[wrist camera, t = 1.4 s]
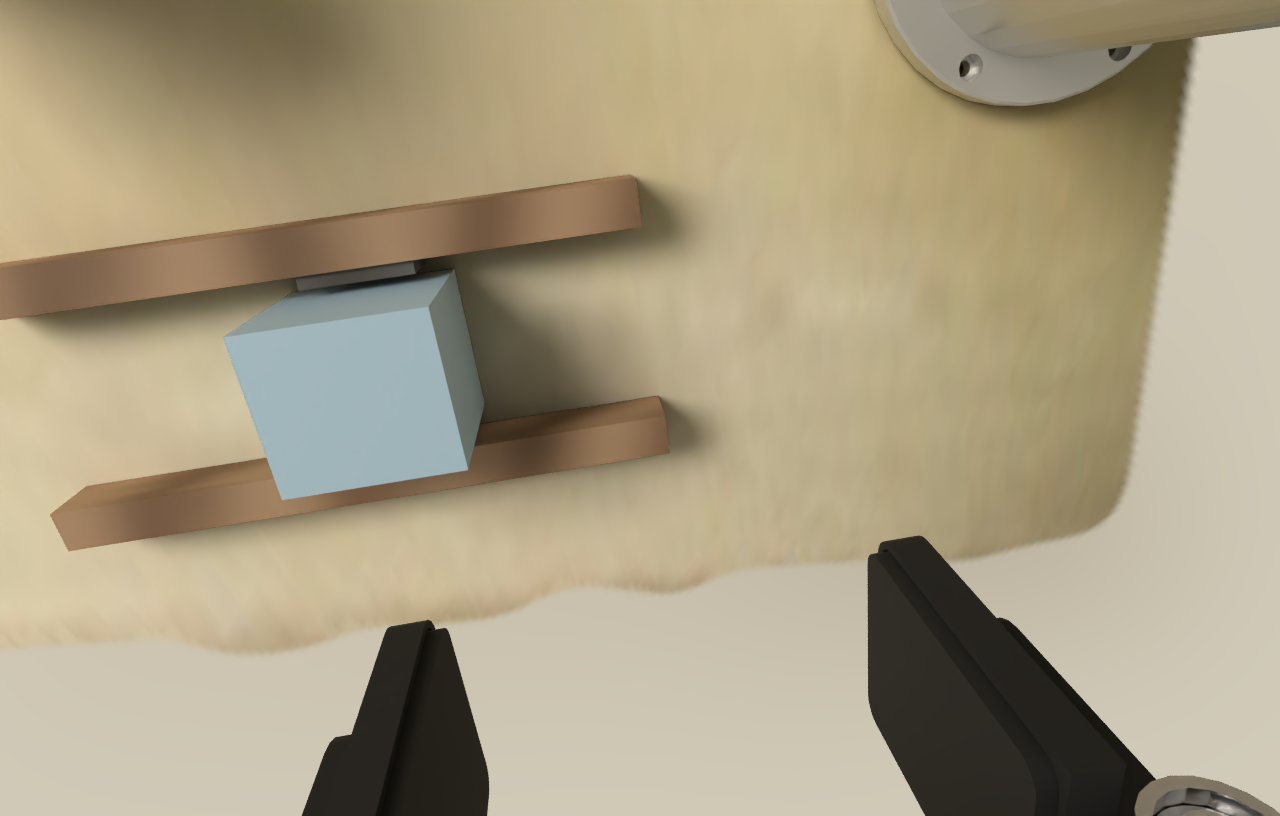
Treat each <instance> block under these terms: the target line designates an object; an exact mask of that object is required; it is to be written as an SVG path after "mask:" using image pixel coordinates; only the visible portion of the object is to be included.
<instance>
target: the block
mask: <svg viewBox="0 0 1280 816" xmlns="http://www.w3.org/2000/svg"><path fill="white" fill-rule="evenodd" d="M223 339H224V342H225V345H226V347H227V350H228V353H229V356H230V358H231V361H232V364H233V367H234V369H235V372H236V375H237V378H238V380H239V383H240V386H241V389H242V391H243V394H244V397H245V400H246V403H247V405H248V408H249V411H250V414H251V416H252V419H253V422H254V425H255V427H256V430H257V433H258V436H259V438H260V441H261V444H262V447H263V449H264V452H265V455H266V458H267V460H268V463H269V466H270V469H271V471H272V474H273V477H274V480H275V482H276V485H277V488H278V491H279V493H280V496H281V499H282V500H287V499H293V498H299V497H305V496H312V495H318V494H324V493H330V492H336V491H343V490H349V489H355V488H361V487H367V486H373V485H380V484H386V483H392V482H398V481H404V480H410V479H417V478H423V477H429V476H435V475H441V474H447V473H454V472H460V471H466V470H468V469H469V465H470V461H471V457H472V453H473V449H474V445H475V441H476V437H477V432H478V428H479V424H480V420H481V416H482V412H483V408H484V404H485V403H484V398H483V394H482V389H481V385H480V381H479V376H478V372H477V367H476V363H475V358H474V354H473V350H472V345H471V341H470V336H469V332H468V327H467V323H466V319H465V314H464V310H463V305H462V301H461V296H460V292H459V288H458V283H457V279H456V274H455V270H454V269H449V270H442V271H435V272H428V273H421V274H414V275H408V276H401V277H394V278H387V279H380V280H373V281H367V282H360V283H353V284H346V285H339V286H332V287H326V288H319V289H312V290H305V291H298V292H292V293H290V294H289V295H287V296H286V297H284V298H283V299H281V300H280V301H278V302H277V303H275V304H273V305H272V306H270V307H269V308H267V309H266V310H264V311H263V312H261V313H260V314H258V315H257V316H255V317H253V318H252V319H250V320H249V321H247V322H246V323H244V324H243V325H241V326H240V327H238V328H237V329H235V330H234V331H232V332H230V333H229V334H227V335H226V336H224V337H223Z"/></svg>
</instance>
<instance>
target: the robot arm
mask: <svg viewBox="0 0 1280 816" xmlns="http://www.w3.org/2000/svg"><path fill="white" fill-rule="evenodd" d="M874 1H875V5H876V8H877V11H878V14H879V16H880V18H881V20H882V21H883V23H884V25H885V27H886V29H887V31H888V33H889V35H890V37H891V38H892V40H893V42H894V44H895V45H896V47H897V48H898V49H899V50H900V51H901V53H902V54H903V55H904V56H905V57H906V59H907V60H908V61H909V62H910V63H911V65H912V66H913V67H914V68H915V69H916V70H917V71H918V72H920V73H921V74H922V75H924V76H925V77H926V78H927V79H929V80H930V81H931V82H933V83H934V84H935V85H937V86H938V87H939V88H941V89H943V90H945V91H947V92H950V93H952V94H954V95H956V96H959V97H961V98H963V99H965V100H968V101H973V102H978V103H983V104H988V105H994V106H1028V105H1035V104H1042V103H1049V102H1056V101H1059V100H1062V99H1065V98H1068V97H1071V96H1074V95H1076V94H1079V93H1082V92H1085V91H1088V90H1090V89H1091V88H1093V87H1095V86H1097V85H1098V84H1100V83H1102V82H1104V81H1105V80H1107V79H1109V78H1111V77H1112V76H1114V75H1116V74H1118V73H1119V72H1120V71H1122V70H1123V69H1124V68H1125V67H1127V66H1128V65H1129V64H1130V63H1132V62H1133V61H1134V60H1135V59H1137V58H1138V57H1139V56H1140V55H1142V54H1143V53H1144V52H1145V51H1146V50H1148V49H1149V48H1150V46H1151V45H1152V44H1153V43H1157V42H1165V41H1172V40H1180V39H1188V38H1195V37H1203V36H1210V35H1218V34H1225V33H1233V32H1241V31H1248V30H1256V29H1263V28H1271V27H1278V26H1280V0H874ZM960 63H962V64H963V68H964V69H963V73H962V74H961V75H960V73H959V67H960ZM868 697H869V704H870V708H871V712H872V715H873V718H874V720H875V722H876V724H877V726H878V728H879V730H880V732H881V734H882V736H883V738H884V739H885V741H886V743H887V745H888V747H889V749H890V751H891V753H892V754H893V756H894V758H895V760H896V762H897V764H898V766H899V767H900V769H901V771H902V773H903V775H904V777H905V779H906V780H907V782H908V784H909V786H910V788H911V790H912V792H913V794H914V795H915V797H916V799H917V801H918V803H919V805H920V807H921V809H922V811H923V812H924V814H925V816H1280V813H1278V812H1277V811H1276V810H1275V809H1273V808H1272V807H1270V806H1269V805H1267V804H1265V803H1263V802H1262V801H1260V800H1258V799H1257V798H1255V797H1253V796H1252V795H1250V794H1248V793H1246V792H1244V791H1242V790H1239V789H1237V788H1234V787H1232V786H1229V785H1227V784H1224V783H1222V782H1219V781H1214V780H1210V779H1205V778H1201V777H1195V776H1167V777H1164V778H1161V779H1158V780H1156V779H1155V778H1154V777H1153V776H1152V775H1151V773H1150V772H1148V770H1147V769H1146V768H1145V767H1144V766H1143V765H1142V764H1141V763H1140V761H1138V759H1137V758H1136V757H1135V756H1134V755H1133V754H1132V753H1131V752H1130V751H1129V749H1127V747H1126V746H1125V745H1124V744H1123V743H1122V742H1121V741H1120V740H1119V739H1118V737H1116V735H1115V734H1114V733H1113V732H1112V731H1111V730H1110V729H1109V728H1108V726H1107V725H1106V724H1105V723H1104V722H1103V721H1102V720H1101V719H1100V718H1099V717H1098V716H1097V714H1096V713H1095V712H1094V711H1093V710H1092V709H1091V708H1090V707H1089V706H1088V705H1087V704H1086V702H1085V701H1084V700H1083V699H1082V698H1081V697H1080V696H1079V695H1078V694H1077V693H1076V691H1075V690H1074V689H1073V688H1072V687H1071V686H1070V685H1069V684H1068V683H1067V682H1066V681H1065V679H1064V678H1063V677H1062V676H1061V675H1060V674H1059V673H1058V672H1057V671H1056V670H1055V669H1054V668H1053V667H1052V665H1051V664H1050V663H1049V662H1048V661H1047V660H1046V659H1045V658H1044V657H1043V655H1042V654H1041V653H1040V652H1039V651H1038V650H1037V649H1036V648H1035V647H1034V646H1033V644H1032V643H1030V641H1029V640H1028V639H1027V638H1026V637H1025V636H1024V635H1023V634H1022V632H1020V630H1019V629H1018V628H1017V627H1016V626H1014V625H1013V624H1012V623H1011V622H1010V621H1009V620H1006V619H1003V618H996V617H995V616H994V615H993V614H992V613H991V612H990V610H989V609H988V608H987V607H986V606H985V605H984V604H983V603H982V602H981V600H980V599H979V598H978V597H977V596H976V595H975V594H974V592H973V591H972V590H971V589H970V588H969V587H968V586H967V585H966V584H965V582H964V581H963V580H962V579H961V578H960V577H959V576H958V575H957V574H956V572H955V571H954V570H953V569H952V568H951V567H950V565H949V564H948V563H947V562H946V561H945V560H944V559H943V558H942V556H941V555H940V554H939V553H938V552H937V551H936V550H935V549H934V548H933V546H932V545H931V544H930V543H929V542H928V541H927V540H926V539H925V538H924V537H923V536H913V537H908V538H902V539H896V540H890V541H884V542H882V543H881V544H880V546H879V549H878V553H875V554H871V555H869V558H868ZM488 799H489V777H488V771H487V765H486V761H485V758H484V754H483V751H482V747H481V744H480V740H479V737H478V733H477V730H476V726H475V723H474V719H473V716H472V712H471V708H470V705H469V701H468V698H467V694H466V691H465V687H464V684H463V680H462V677H461V673H460V670H459V666H458V662H457V659H456V656H455V652H454V648H453V645H452V642H451V638H450V635H449V632H448V630H447V629H446V628H442V629H436V630H435V627H434V625H433V623H432V622H431V621H430V620H426V621H420V622H414V623H409V624H403V625H397V626H391V627H389V628H388V629H387V630H386V632H385V635H384V638H383V641H382V644H381V647H380V650H379V653H378V656H377V659H376V662H375V665H374V668H373V671H372V674H371V677H370V680H369V683H368V686H367V689H366V692H365V695H364V698H363V701H362V704H361V707H360V710H359V713H358V716H357V719H356V722H355V725H354V728H353V732H352V734H351V735H346V736H340V737H335V738H334V739H333V740H332V741H331V742H330V744H329V746H328V747H327V750H326V751H325V753H324V756H323V759H322V762H321V764H320V767H319V770H318V773H317V775H316V778H315V781H314V784H313V787H312V789H311V792H310V795H309V797H308V800H307V803H306V806H305V808H304V811H303V814H302V816H487V810H488Z"/></svg>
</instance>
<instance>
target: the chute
mask: <svg viewBox="0 0 1280 816" xmlns="http://www.w3.org/2000/svg"><path fill="white" fill-rule="evenodd" d="M638 227H642V221H641V212H640V204H639V196H638V188H637V180H636V178H634V177H633V176H631V175H624V176H617V177H610V178H603V179H596V180H589V181H582V182H574V183H567V184H560V185H553V186H546V187H539V188H532V189H525V190H518V191H511V192H504V193H496V194H489V195H482V196H475V197H468V198H461V199H454V200H447V201H440V202H433V203H426V204H419V205H411V206H404V207H397V208H390V209H383V210H376V211H369V212H362V213H355V214H348V215H341V216H333V217H326V218H319V219H312V220H305V221H298V222H291V223H284V224H277V225H270V226H263V227H256V228H248V229H241V230H234V231H227V232H220V233H213V234H206V235H199V236H192V237H185V238H178V239H170V240H163V241H156V242H149V243H142V244H135V245H128V246H121V247H114V248H107V249H100V250H93V251H85V252H78V253H71V254H64V255H57V256H50V257H43V258H36V259H29V260H22V261H15V262H7V263H0V320H5V319H12V318H19V317H26V316H32V315H39V314H46V313H53V312H60V311H67V310H74V309H81V308H87V307H94V306H101V305H108V304H115V303H122V302H129V301H136V300H143V299H149V298H156V297H163V296H170V295H177V294H184V293H191V292H198V291H204V290H211V289H218V288H225V287H232V286H239V285H246V284H253V283H259V282H266V281H273V280H280V279H287V278H294V277H295V281H296V284H297V287H298V290H299V291H302V290H308V289H315V288H322V287H329V286H336V285H343V284H349V283H356V282H363V281H370V280H377V279H384V278H390V277H397V276H404V275H411V274H416V273H417V272H418V271H419V270H420V269H421V267H422V266H423V265H424V264H425V260H424V259H425V258H432V257H438V256H445V255H452V254H459V253H466V252H473V251H480V250H487V249H493V248H500V247H507V246H514V245H521V244H528V243H535V242H542V241H549V240H555V239H562V238H569V237H576V236H583V235H590V234H597V233H604V232H610V231H617V230H624V229H631V228H638ZM667 453H670V450H669V442H668V434H667V425H666V417H665V414H664V411H663V408H662V406H661V403H660V400H659V398H658V396H654V397H647V398H641V399H635V400H629V401H622V402H616V403H610V404H603V405H597V406H591V407H584V408H578V409H572V410H566V411H559V412H553V413H547V414H540V415H534V416H528V417H521V418H515V419H509V420H503V421H496V422H490V423H484V424H479V428H478V432H477V437H476V441H475V445H474V449H473V453H472V457H471V461H470V465H469V469H468V470H466V471H460V472H454V473H447V474H441V475H435V476H429V477H423V478H417V479H410V480H404V481H398V482H392V483H386V484H380V485H373V486H367V487H361V488H355V489H349V490H343V491H336V492H330V493H324V494H318V495H312V496H305V497H299V498H293V499H287V500H282V499H281V496H280V493H279V491H278V488H277V485H276V482H275V480H274V477H273V474H272V471H271V469H270V466H269V463H268V460H267V458H263V459H257V460H250V461H244V462H238V463H231V464H225V465H219V466H213V467H206V468H200V469H194V470H187V471H181V472H175V473H168V474H162V475H156V476H149V477H143V478H137V479H131V480H124V481H118V482H112V483H105V484H99V485H93V486H86V487H85V488H84V489H82V490H81V491H80V492H78V493H77V494H76V495H75V496H73V497H72V498H71V499H69V500H68V501H67V502H66V503H64V504H63V505H62V506H60V507H59V508H58V509H57V510H55V511H54V512H53V513H51V514H50V516H51V518H52V520H53V522H54V524H55V526H56V528H57V529H58V531H59V533H60V535H61V537H62V539H63V541H64V543H65V545H66V547H67V549H68V551H73V550H79V549H85V548H91V547H97V546H104V545H110V544H116V543H122V542H128V541H134V540H140V539H146V538H153V537H159V536H165V535H171V534H177V533H183V532H189V531H195V530H202V529H208V528H214V527H220V526H226V525H232V524H238V523H244V522H251V521H257V520H263V519H269V518H275V517H281V516H287V515H293V514H300V513H306V512H312V511H318V510H324V509H330V508H336V507H342V506H349V505H355V504H361V503H367V502H373V501H379V500H385V499H391V498H398V497H404V496H410V495H416V494H422V493H428V492H434V491H440V490H447V489H453V488H459V487H465V486H471V485H477V484H483V483H489V482H496V481H502V480H508V479H514V478H520V477H526V476H532V475H538V474H545V473H551V472H557V471H563V470H569V469H575V468H581V467H588V466H594V465H600V464H606V463H612V462H618V461H624V460H630V459H637V458H643V457H649V456H655V455H661V454H667Z"/></svg>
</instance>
